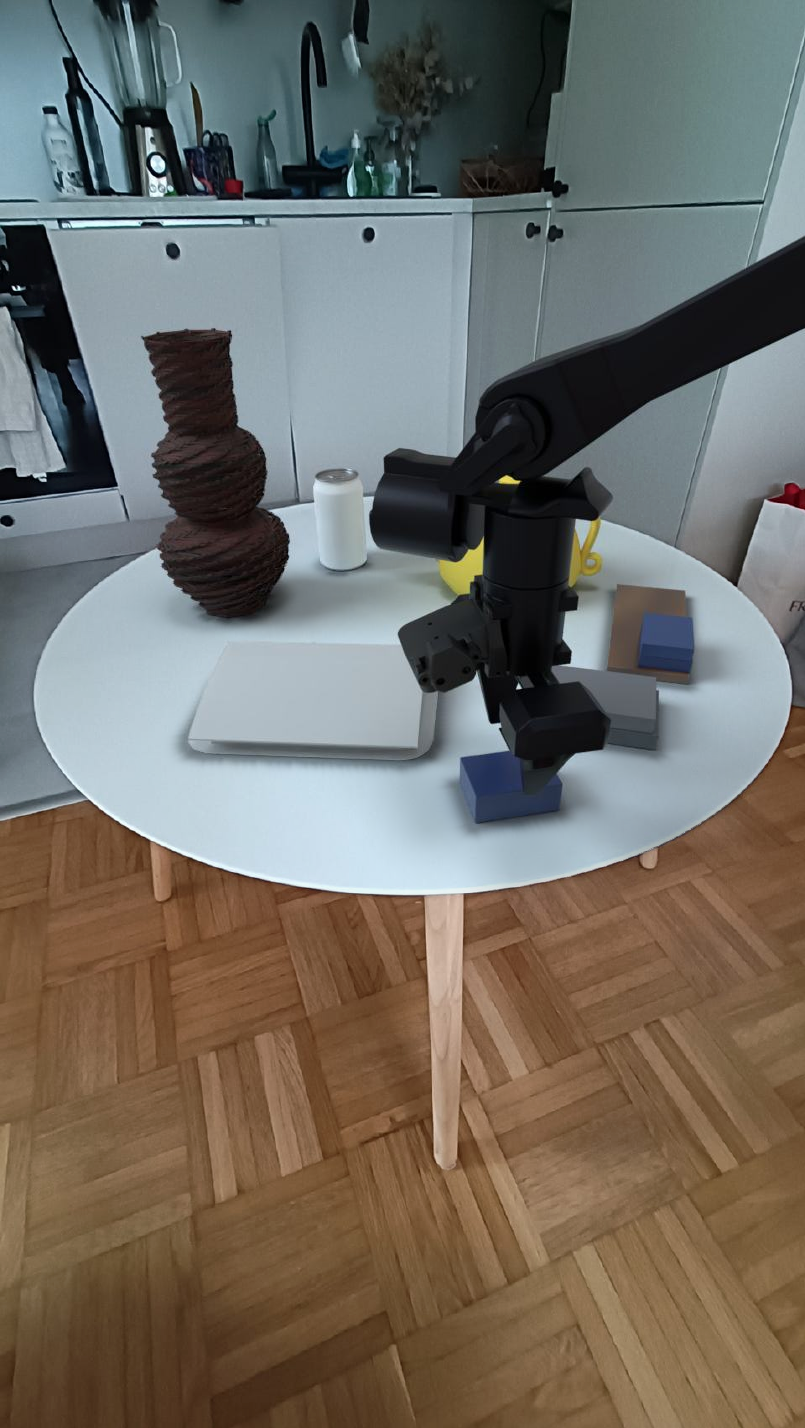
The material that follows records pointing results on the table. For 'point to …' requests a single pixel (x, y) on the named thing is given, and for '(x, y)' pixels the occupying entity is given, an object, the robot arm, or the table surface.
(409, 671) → the book
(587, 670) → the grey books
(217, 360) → the vase
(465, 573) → the teapot
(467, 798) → the navy block
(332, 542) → the can
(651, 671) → the board
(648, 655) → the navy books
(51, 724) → the table surface
